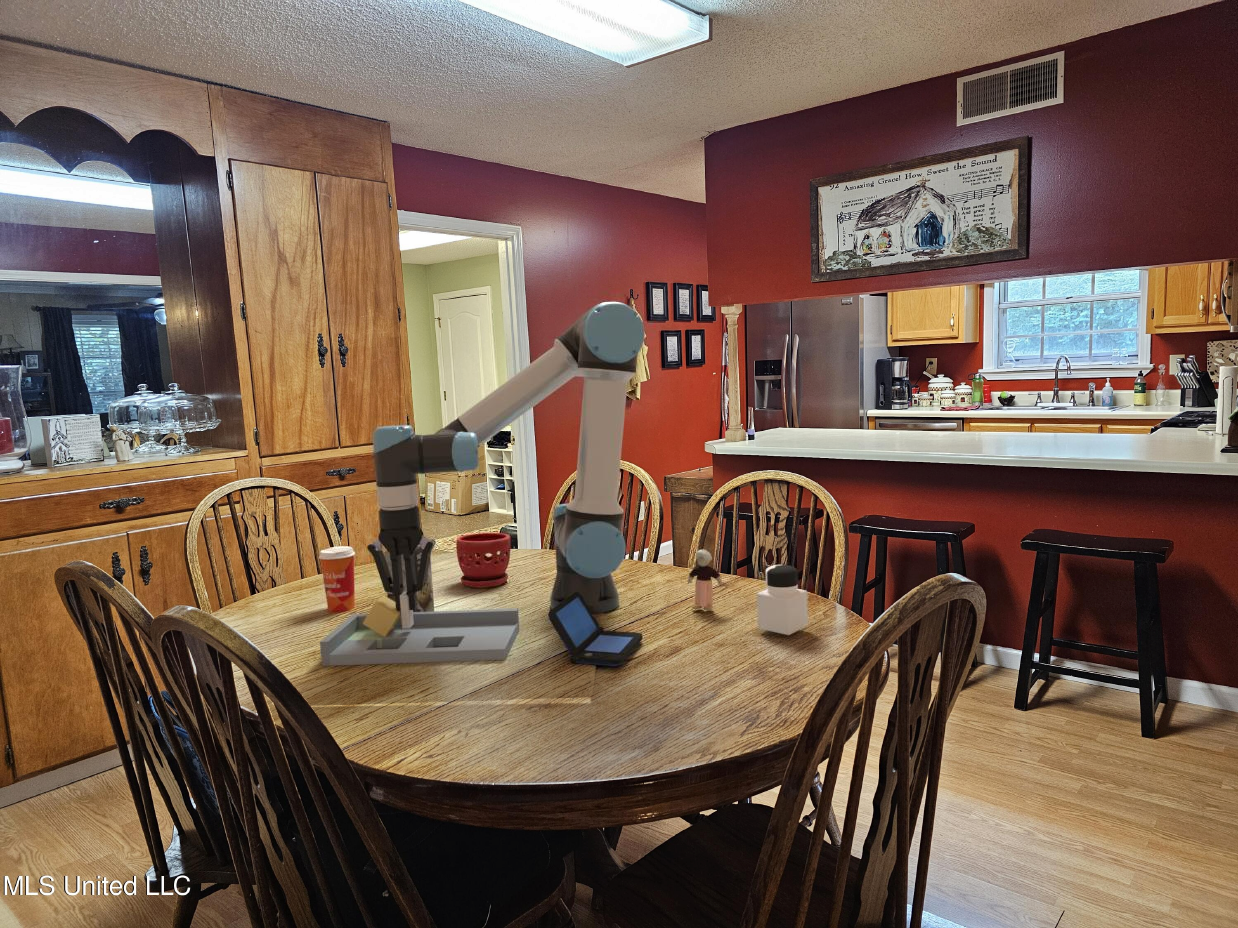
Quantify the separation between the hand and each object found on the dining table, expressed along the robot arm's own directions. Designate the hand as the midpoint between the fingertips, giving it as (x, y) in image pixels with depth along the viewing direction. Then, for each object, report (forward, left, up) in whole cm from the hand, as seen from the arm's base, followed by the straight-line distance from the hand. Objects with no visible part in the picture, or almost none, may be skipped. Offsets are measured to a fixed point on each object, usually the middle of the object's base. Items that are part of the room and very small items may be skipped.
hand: (408, 625), depth 156 cm
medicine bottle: (-73, -1, -4) cm, 73 cm away
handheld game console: (-37, +8, -4) cm, 38 cm away
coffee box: (+3, -14, -4) cm, 15 cm away
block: (+6, 0, 0) cm, 6 cm away
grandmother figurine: (-59, -16, -4) cm, 61 cm away
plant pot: (-7, -43, -4) cm, 43 cm away
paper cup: (+22, -24, -4) cm, 33 cm away
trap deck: (-5, +4, -3) cm, 7 cm away
